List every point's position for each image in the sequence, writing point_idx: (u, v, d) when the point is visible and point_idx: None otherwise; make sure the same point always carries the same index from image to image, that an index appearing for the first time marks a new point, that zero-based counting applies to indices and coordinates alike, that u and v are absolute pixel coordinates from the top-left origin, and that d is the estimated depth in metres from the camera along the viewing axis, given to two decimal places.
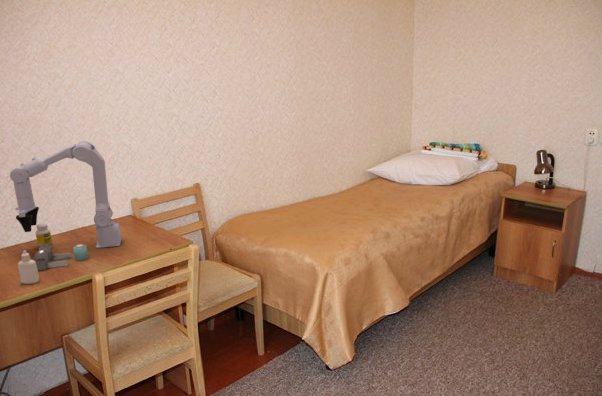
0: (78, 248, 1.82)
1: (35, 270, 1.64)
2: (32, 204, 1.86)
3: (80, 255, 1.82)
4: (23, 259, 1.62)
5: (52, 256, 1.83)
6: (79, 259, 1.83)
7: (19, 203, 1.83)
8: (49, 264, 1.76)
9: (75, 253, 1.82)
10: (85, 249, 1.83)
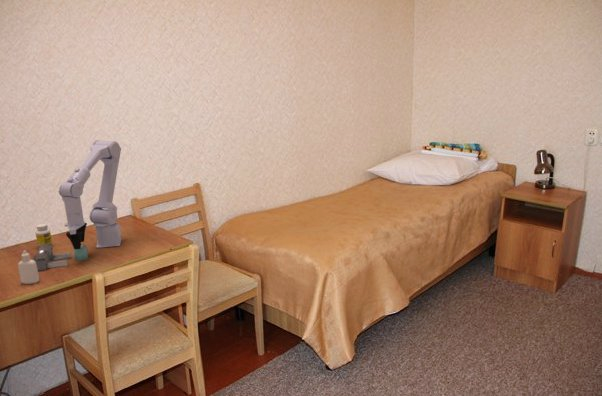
0: None
1: (35, 270, 1.64)
2: (82, 220, 1.80)
3: (80, 255, 1.82)
4: (23, 259, 1.62)
5: (52, 256, 1.83)
6: (79, 259, 1.83)
7: (69, 219, 1.77)
8: (49, 264, 1.76)
9: (75, 253, 1.82)
10: (85, 249, 1.83)
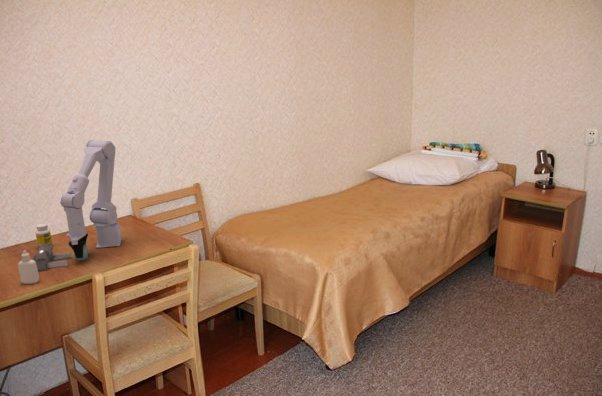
0: None
1: (35, 270, 1.64)
2: (83, 231, 1.81)
3: None
4: (23, 259, 1.62)
5: (52, 256, 1.83)
6: (79, 259, 1.83)
7: (71, 230, 1.79)
8: (49, 264, 1.76)
9: None
10: (85, 249, 1.83)
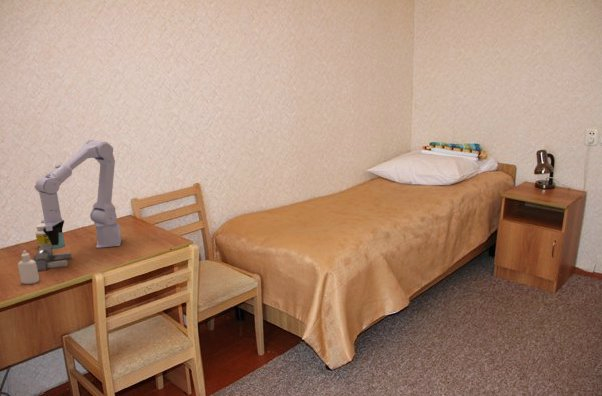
0: None
1: (35, 270, 1.64)
2: (59, 217, 1.76)
3: None
4: (23, 259, 1.62)
5: (52, 256, 1.83)
6: (55, 247, 1.77)
7: (45, 216, 1.73)
8: (49, 264, 1.76)
9: None
10: (62, 237, 1.78)
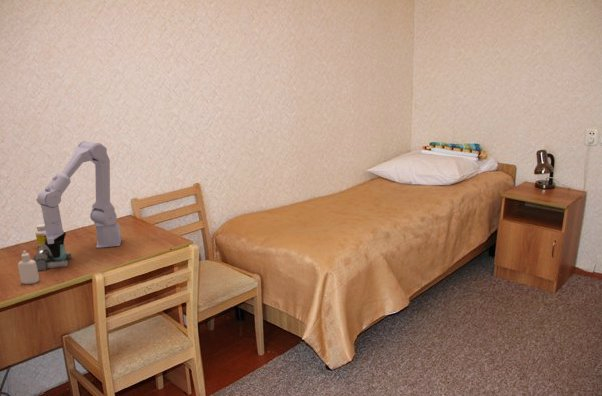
0: None
1: (35, 270, 1.64)
2: (60, 229, 1.77)
3: None
4: (23, 259, 1.62)
5: None
6: (57, 259, 1.79)
7: (47, 229, 1.75)
8: (49, 264, 1.76)
9: None
10: (63, 249, 1.79)
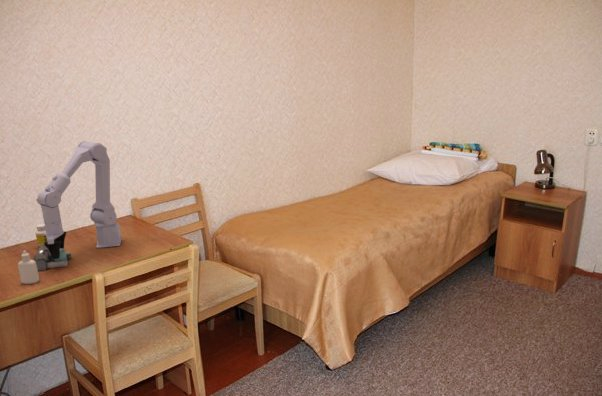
0: None
1: (35, 270, 1.64)
2: (60, 229, 1.77)
3: (59, 259, 1.79)
4: (23, 259, 1.62)
5: None
6: None
7: (47, 229, 1.75)
8: (49, 264, 1.76)
9: None
10: (64, 253, 1.80)
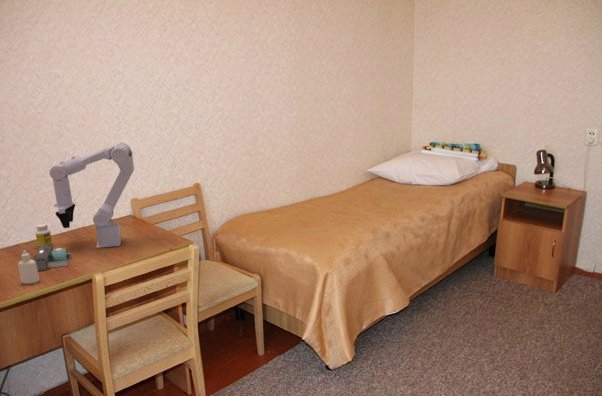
0: (57, 252, 1.78)
1: (35, 270, 1.64)
2: (70, 201, 1.90)
3: (59, 259, 1.79)
4: (23, 259, 1.62)
5: None
6: None
7: (58, 200, 1.88)
8: (49, 264, 1.76)
9: (54, 257, 1.79)
10: (64, 253, 1.80)
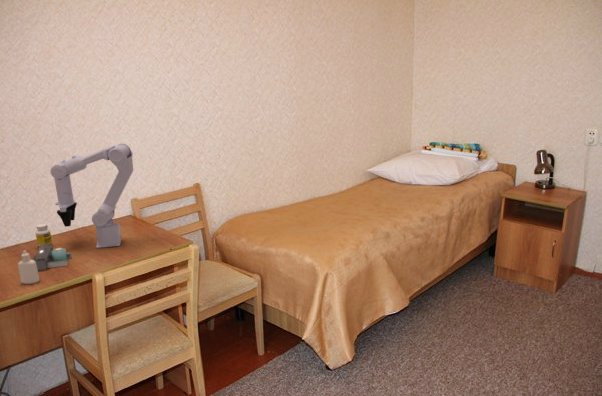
0: (57, 252, 1.79)
1: (35, 270, 1.64)
2: (72, 199, 1.92)
3: (60, 259, 1.79)
4: (23, 259, 1.62)
5: None
6: None
7: (59, 198, 1.90)
8: (49, 264, 1.76)
9: (54, 257, 1.79)
10: (64, 252, 1.80)
